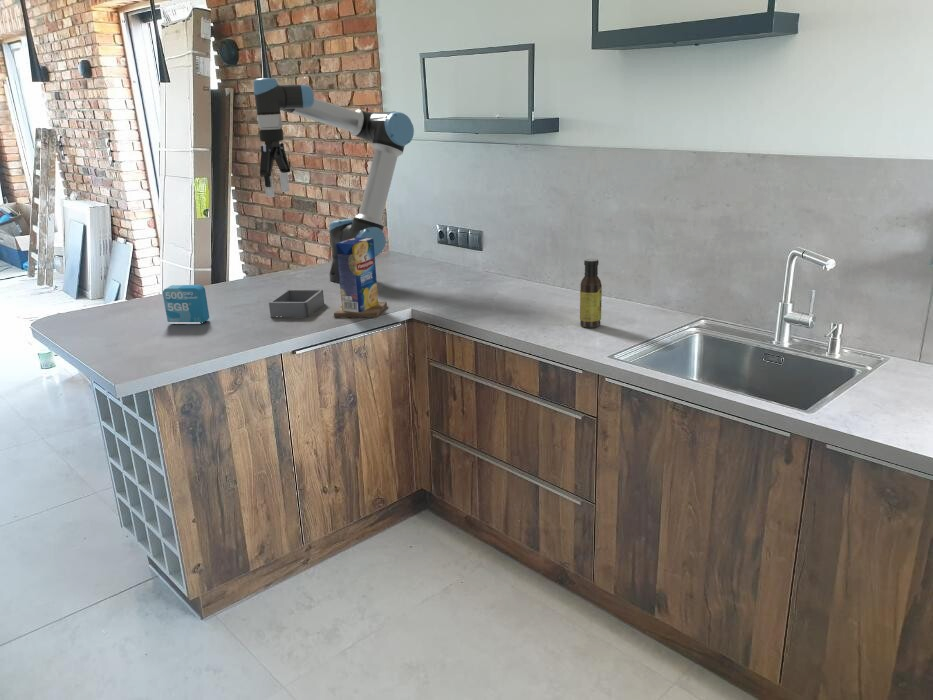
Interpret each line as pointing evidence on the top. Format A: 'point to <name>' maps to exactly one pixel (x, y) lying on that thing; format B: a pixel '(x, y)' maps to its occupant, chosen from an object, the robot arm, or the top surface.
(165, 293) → the data package
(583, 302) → the sauce bottle
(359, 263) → the beverage box
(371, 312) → the brown flat wooden slab
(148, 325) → the top surface
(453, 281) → the top surface
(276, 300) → the charcoal crate
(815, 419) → the top surface
